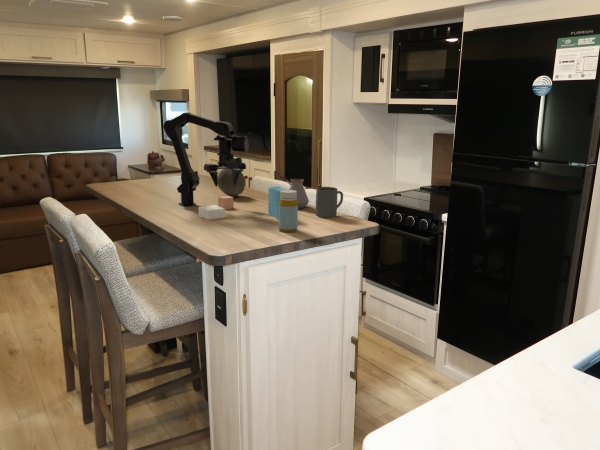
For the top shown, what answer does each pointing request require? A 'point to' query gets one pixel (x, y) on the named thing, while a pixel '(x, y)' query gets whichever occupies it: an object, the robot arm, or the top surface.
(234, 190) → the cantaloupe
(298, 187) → the coffee pot
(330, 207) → the mug
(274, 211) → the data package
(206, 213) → the base block
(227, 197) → the terracotta cube
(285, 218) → the bottle
